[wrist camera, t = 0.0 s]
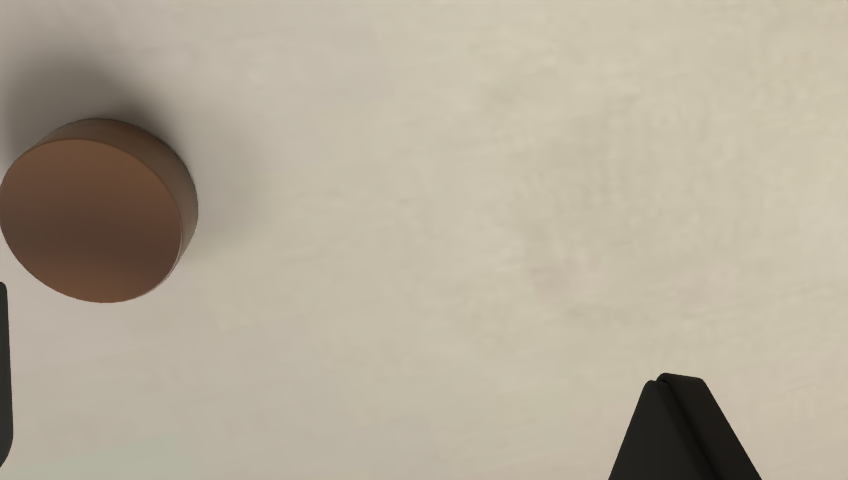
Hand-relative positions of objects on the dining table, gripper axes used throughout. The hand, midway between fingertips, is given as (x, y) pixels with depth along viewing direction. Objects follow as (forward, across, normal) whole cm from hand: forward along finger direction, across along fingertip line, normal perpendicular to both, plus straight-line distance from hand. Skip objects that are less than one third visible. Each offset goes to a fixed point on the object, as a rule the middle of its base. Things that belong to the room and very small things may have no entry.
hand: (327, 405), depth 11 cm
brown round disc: (+12, +7, +3) cm, 14 cm away
